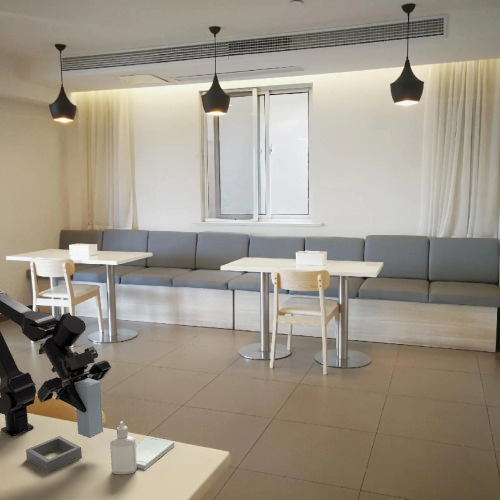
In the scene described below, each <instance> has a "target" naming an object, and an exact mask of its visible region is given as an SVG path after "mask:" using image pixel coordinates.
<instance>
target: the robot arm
mask: <svg viewBox="0 0 500 500" xmlns="http://www.w3.org/2000/svg"><path fill="white" fill-rule="evenodd" d="M0 315H2V316H4V317H6V318H7V319H9V320H10V321H11V322H13V323H15V324H17V325H18V326H19V327H20V328H21V332H22V334H24V336H26V338H27V339H29V340H30V341H31V342H34V343H35V342H40V341H43V340H45V342H41V343H40V344H39V345H40V347H39V349H38V355H46V357H47V358H48V360H49V362H50V364H51V365H52V368H51V372H52V373H56V374H57V377H54V378H51V379H48V380H45V381H44V382H43V383H42V385H41V387H39V389H38V391H37V387H36V382H34V380H33V378H32V375H31V374H30V372H29V371H28V372H23V371H21V370H20V369H19V366H18V365H17V363H16V360H15V359H14V356H13V354H12V352H11V350H10V348H9V346H8V344H7V342H6V340H5V338H4V336H3V333H2V331H1V330H0V415H4V420H5V421H4V423H5V426H3V427H1V428H0V431H1V432H3V433H5V434H6V435H8V436H10V437H14V436H17V435H20V434H22V433H25V432H27V431H29V430H32V429H34V428H35V426H34V425H33V424H30V423H29V417H28V407H30V406H31V405H34V404H35V400H36V394H37V398H38V400H39V402H40V403H41V404H42V403H44V402H47V401H50V400H52V399H53V397H54V393H55V395H56V397H55V400H56V401H58V400H59V401H62V402H64V403H66V404H68V405H69V406H72V407H73V408H75V409H76V410H77V409H78V410H80V411H81V412H83V413H85V412H86V411H87V410H86V407H85V405H84V403H83V402H82V400H81V399H80V397H79V395H78V394H77V392H76V389H75V383H77V382H79V381H82V380H84V379H87V378H90V379H93V380H97V381H101V380H102V379H104V378H105V377H106V375H107V374H108V372H110V370H111V369H112V366H111V364H110V363H109V361H108V360H101V361H98V362H95V359H97V358H99V354H98V351H97V349H96V348H95V346H92V345H91V346H89V347H87V348H85V349H84V350H83V351H84V352H80V353H78V352H77V351H75V352H74V351H73V350H72V349H71V347H72V346H74V345H75V344H76V342H77V341H78V340H79V339H80V337H82V335H83V334H84V332H85V331H86V326H87V325H86V323H85V321H84V320H83V319H81V318H79V317H78V316H76V315H72V314H71V312H66V313H62V315H61V316H60V318H59V319H57V318H56V317H55V316H54V315H52V314H49V313H47V312H42V311H35V310H32V309H31V308H29V307H27V306H26V305H24V304H23V303H21V302H19V301H18V300H16V299H14V298H13V297H11V296H10V295H8V292H6V291H3V290H2V291H1V290H0ZM90 364H93V365H92V366H91V367H90V368H89V366H88V365H90ZM87 369H89V370H87ZM85 370H87V371H85Z"/></svg>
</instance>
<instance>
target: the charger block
mask: <svg viewBox="0 0 500 500" xmlns="http://www.w3.org/2000/svg"><path fill="white" fill-rule="evenodd" d="M75 389H76V392H77V394H78V395H79V397H80V399H81V400H82V402H83V403H84V405H85V407H86V410H87V411H86V412H85V413H83V412H81V411H80V410H78V409H76V421H77V423H76V424H77V433H78V435H80V436H83V437H85V438H88V439H91V438H93V437H95V436H97V435H100V434H102V433H104V426H103V425H104V423H103V409H102V389H101V380H99V381H97V380H93V379H90V378H87V379H84V380H82V381H79V382H77V383H75Z"/></svg>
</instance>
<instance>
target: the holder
mask: <svg viewBox="0 0 500 500" xmlns="http://www.w3.org/2000/svg"><path fill="white" fill-rule="evenodd" d="M56 449H60V450H62V451H64V452H62V453H60V454H58V455H55V456H53V457H51V458H47V457H46V456H44V455H45V454H47V453H49V452H52V451H55V450H56ZM25 453H26V460H27V461H29V462H30V463H32V464H34V465H35V466H37V467H38V468H40V469H42V470H43V471H45V472H46V473H50V472H52V471H55V470H56V469H59V468H61V467H63V466H65V465H67V464H69V463H71V462H74V461H76V460H78V459H80V458H82V457H83V455H82V454H83V453H82V446H79V445H78V444H75V443H74V442H72V441H70V440H69V439H66V438H65V437H63V436H61V435H58V436H55V437H53V438H51V439H49V440H48V439H47V440H46V441H43V442H42V443H38V444H37V445H34V446H31V447H29V448H26V449H25Z"/></svg>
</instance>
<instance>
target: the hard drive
mask: <svg viewBox="0 0 500 500" xmlns="http://www.w3.org/2000/svg"><path fill="white" fill-rule="evenodd" d="M166 440H167V439H161V438H157V437H153V436H148V437H146V438H145V439H143V440H142V441H141V442H140V443H138V444H137V445H136V459H137V469H141V470H144V471H145V470H147V469H148V468H149V467H151V466H152V465H153V464H154V463H155V462H156V461H158V460H160V458H161V457H162V456H164V455H165V454H166V453H168V452H169V451H170V450H171V449H172V448H173V447H175V445H176V444H175V442H174V441H171V440H167V441H166Z"/></svg>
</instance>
